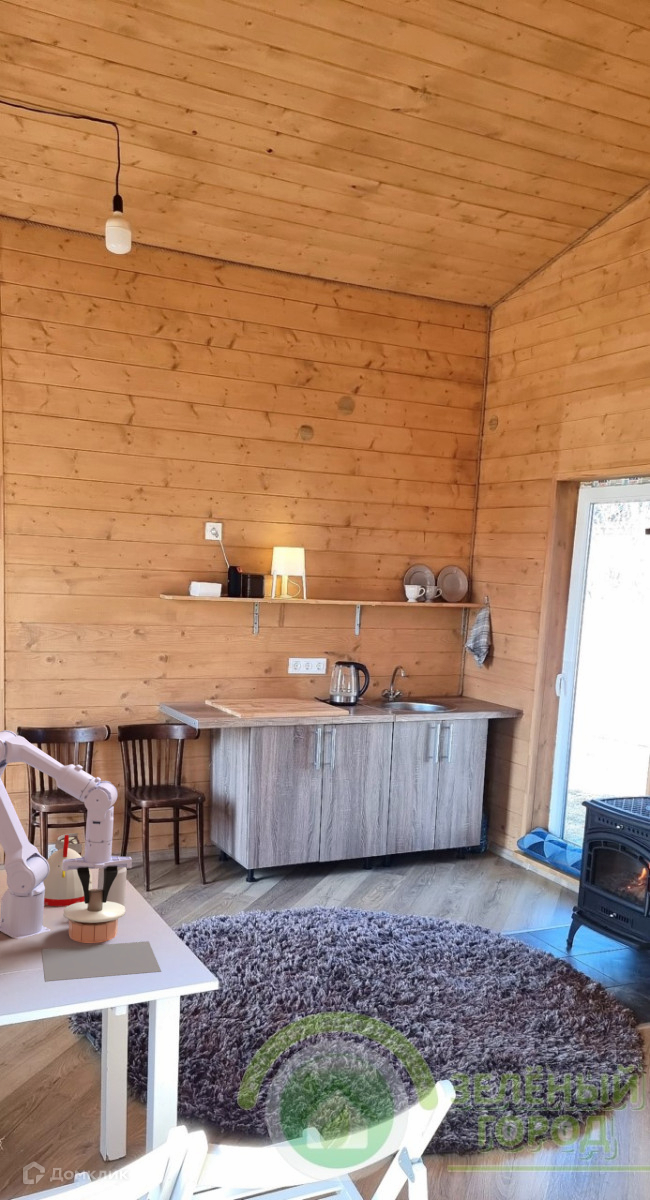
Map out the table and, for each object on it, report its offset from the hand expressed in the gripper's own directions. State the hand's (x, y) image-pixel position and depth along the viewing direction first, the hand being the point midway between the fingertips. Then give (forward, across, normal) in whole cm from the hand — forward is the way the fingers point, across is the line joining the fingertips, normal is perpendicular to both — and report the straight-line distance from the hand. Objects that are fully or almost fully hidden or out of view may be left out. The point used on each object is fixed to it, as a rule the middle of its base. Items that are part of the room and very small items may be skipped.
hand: (95, 901), depth 193 cm
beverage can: (+8, +5, +13) cm, 16 cm away
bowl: (+8, 0, 0) cm, 8 cm away
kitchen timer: (+8, -5, +28) cm, 29 cm away
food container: (+8, -3, +44) cm, 44 cm away
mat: (+8, 0, -14) cm, 16 cm away
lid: (+2, 0, 0) cm, 2 cm away
